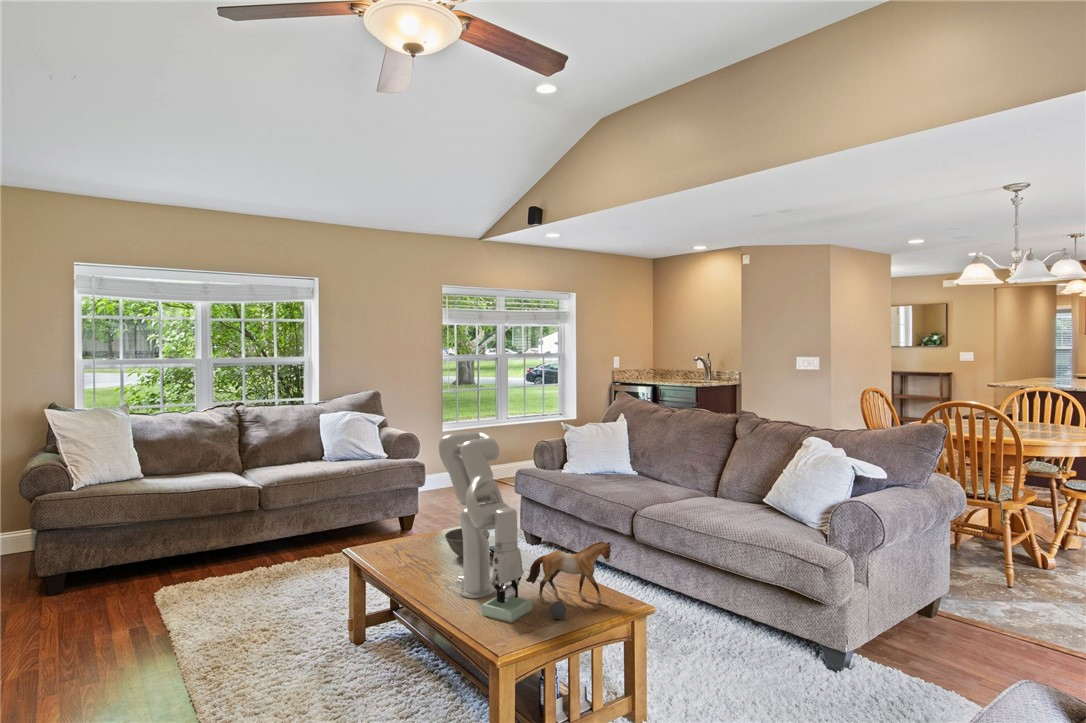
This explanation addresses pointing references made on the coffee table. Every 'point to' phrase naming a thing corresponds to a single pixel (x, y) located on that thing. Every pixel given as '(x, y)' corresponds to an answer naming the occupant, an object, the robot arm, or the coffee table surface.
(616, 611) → the coffee table surface
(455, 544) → the bowl
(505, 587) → the steel ball
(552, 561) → the horse figurine
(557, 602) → the rubber ball
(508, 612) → the tray
